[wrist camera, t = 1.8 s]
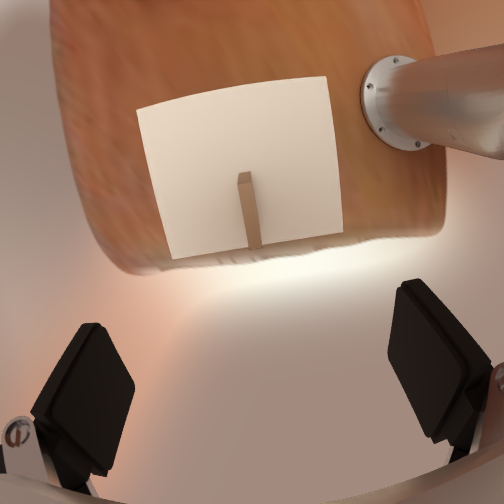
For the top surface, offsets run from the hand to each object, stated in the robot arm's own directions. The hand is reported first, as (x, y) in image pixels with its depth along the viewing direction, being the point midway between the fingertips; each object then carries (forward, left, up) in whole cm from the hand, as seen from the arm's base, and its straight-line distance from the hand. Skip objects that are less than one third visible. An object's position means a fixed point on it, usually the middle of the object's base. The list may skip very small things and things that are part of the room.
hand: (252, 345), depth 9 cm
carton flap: (+1, -2, -19) cm, 20 cm away
